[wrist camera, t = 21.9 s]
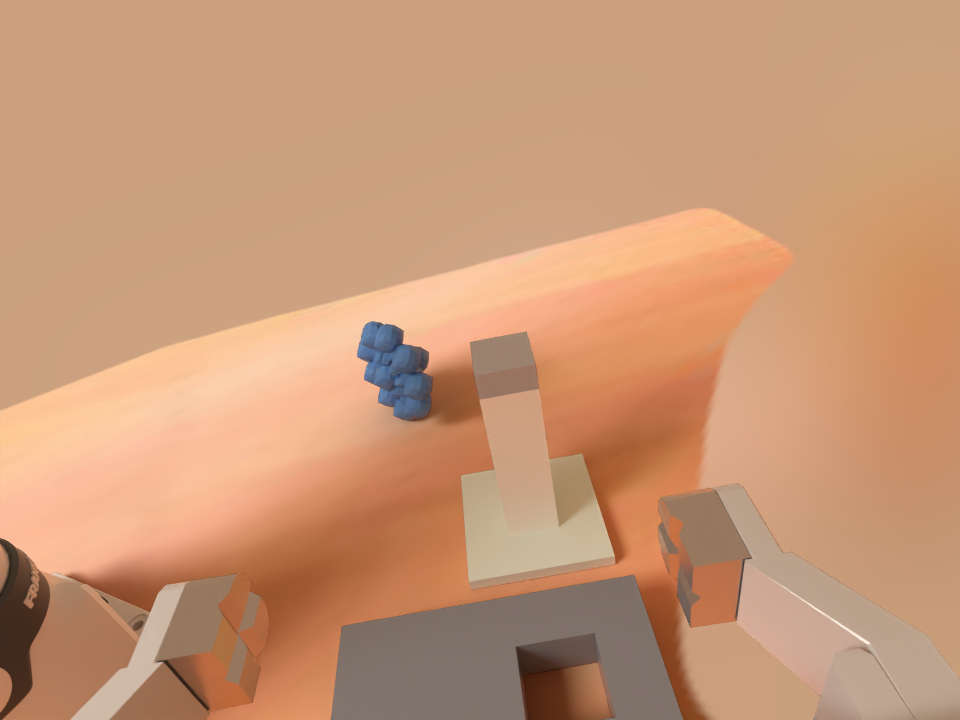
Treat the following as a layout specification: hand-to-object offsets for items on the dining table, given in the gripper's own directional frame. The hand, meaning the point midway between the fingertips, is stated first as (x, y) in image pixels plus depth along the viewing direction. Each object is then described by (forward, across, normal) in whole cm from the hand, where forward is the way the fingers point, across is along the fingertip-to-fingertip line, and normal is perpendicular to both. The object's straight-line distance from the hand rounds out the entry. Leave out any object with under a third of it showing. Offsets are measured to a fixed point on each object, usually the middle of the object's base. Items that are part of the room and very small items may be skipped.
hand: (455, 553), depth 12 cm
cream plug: (+26, -2, +29) cm, 39 cm away
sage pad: (+26, -2, +30) cm, 39 cm away
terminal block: (+11, +2, +30) cm, 32 cm away
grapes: (+42, +8, +30) cm, 53 cm away
